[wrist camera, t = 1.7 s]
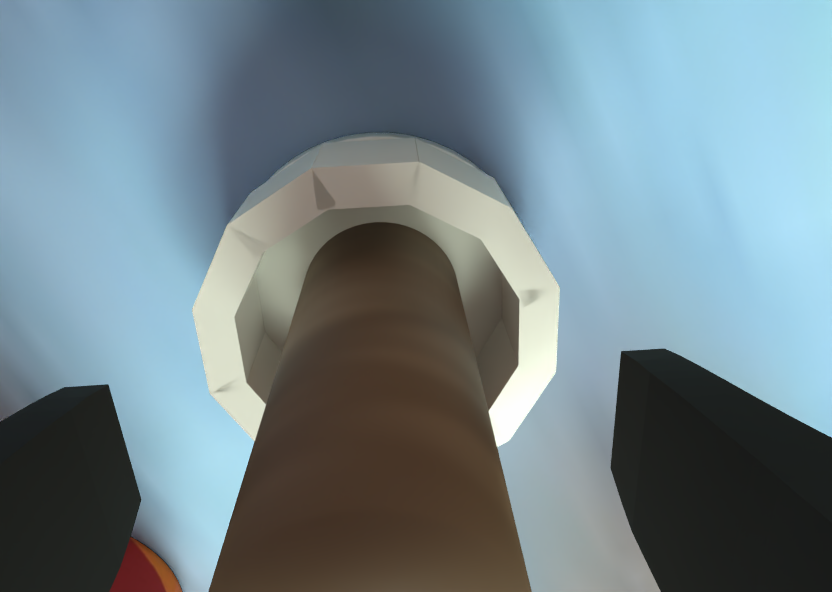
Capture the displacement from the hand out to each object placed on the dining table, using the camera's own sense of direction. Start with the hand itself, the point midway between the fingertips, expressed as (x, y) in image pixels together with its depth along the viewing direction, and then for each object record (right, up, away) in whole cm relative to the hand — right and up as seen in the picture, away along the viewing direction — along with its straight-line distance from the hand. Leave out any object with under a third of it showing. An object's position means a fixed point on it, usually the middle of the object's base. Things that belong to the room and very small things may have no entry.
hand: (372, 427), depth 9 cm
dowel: (0, +2, +4) cm, 5 cm away
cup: (0, +2, +5) cm, 5 cm away
